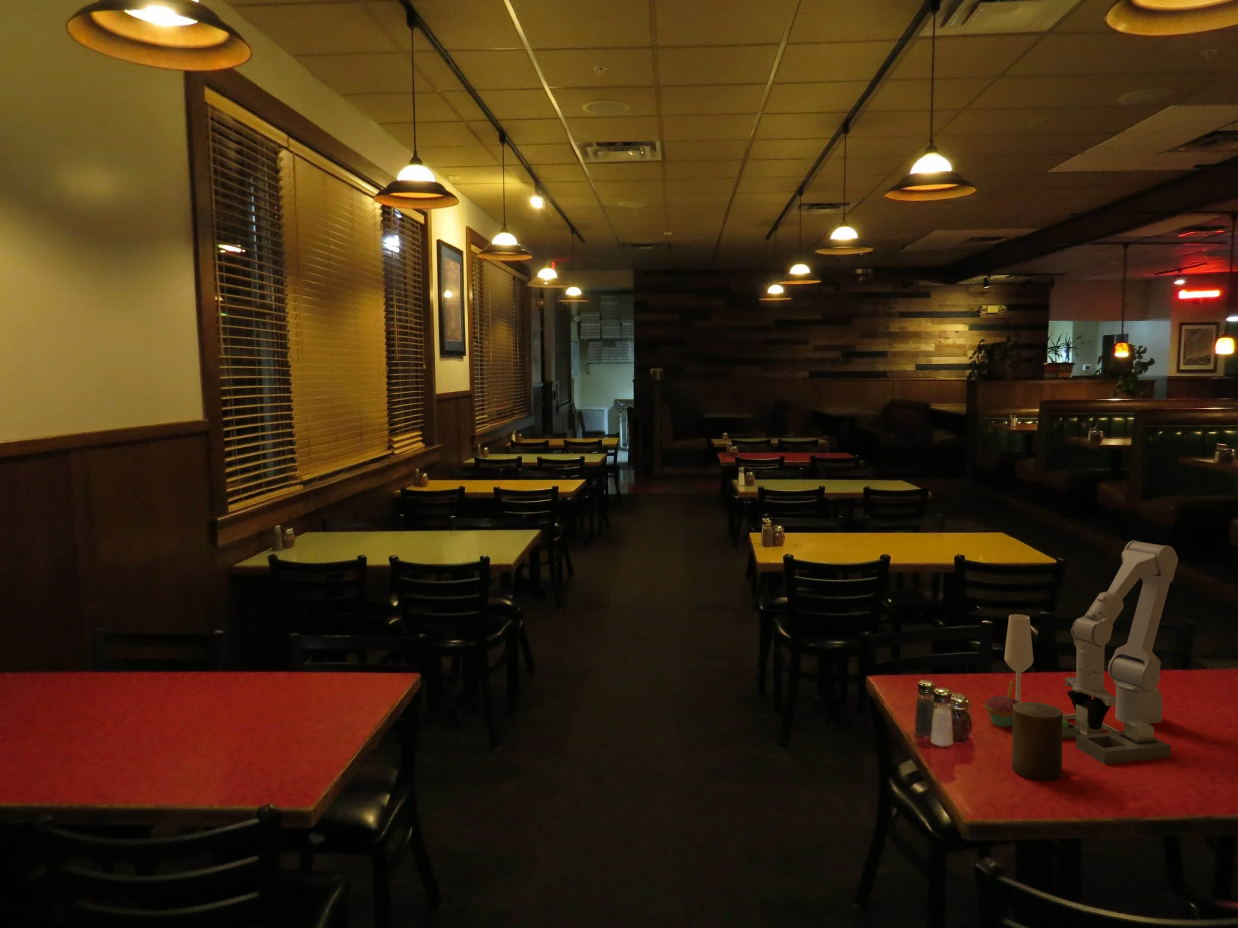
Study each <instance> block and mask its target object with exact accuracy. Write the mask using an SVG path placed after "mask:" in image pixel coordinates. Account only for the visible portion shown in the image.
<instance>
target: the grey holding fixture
mask: <svg viewBox="0 0 1238 928" xmlns="http://www.w3.org/2000/svg"><path fill="white" fill-rule="evenodd" d="M1075 748H1076V749H1078V750H1079V751H1081V752H1083V753H1085V754H1087V755H1088V756H1089V757H1092V758H1093V759H1095V760H1096V761H1098V762H1100V763H1101V764H1103V765H1109V764H1110V765H1111V764H1119V763H1128V762H1138V761H1139V762H1140V761H1149V760H1158V759H1168V758H1171V745H1170V744H1168V743H1167V742H1165V741H1163V740H1161V739H1159V738H1158V737H1155V736H1154V742H1153V743H1150V744H1140V745H1136V744H1134V743H1133V742H1131V741H1129V740H1127V739H1125V738H1124V730H1118V732H1109V731H1107V732H1103V733H1094V734H1087V735H1076V738H1075Z"/></svg>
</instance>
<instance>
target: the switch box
mask: <svg viewBox="0 0 1238 928" xmlns="http://www.w3.org/2000/svg"><path fill="white" fill-rule="evenodd" d="M1068 722H1069V721H1068ZM1075 725H1076V724H1075ZM1075 725H1074V724H1073V723H1071V722H1069V724H1068V728H1064V729H1062V740H1071V739H1072V740H1073V739H1076V735H1080V731H1081V730H1080V728H1079V727H1077V726H1075Z"/></svg>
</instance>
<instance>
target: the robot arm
mask: <svg viewBox="0 0 1238 928" xmlns="http://www.w3.org/2000/svg"><path fill="white" fill-rule="evenodd" d="M1121 561H1122V563H1121V566H1120V568H1119V569H1118V572H1117V573H1116V575H1115V577H1114V579H1113V581H1112V582H1111V584H1110V586H1109V588H1108V589H1107V591H1104V592H1100V593H1098V595H1097V597H1096V598H1095V600H1094V602H1092V604H1091V605H1090V607H1089V609H1088V610H1087V612H1086V613H1085V614H1084V616H1081V617H1079V618H1076V619H1075V621H1074V622H1073V624H1072V626H1071V627H1072V628H1070V633H1071V637H1072V638H1073V641H1074V644H1073V645H1074V647H1076V667H1075V668H1076V673H1075V677H1074V676H1068V677H1065V679H1064V680H1065V681H1064V682H1065V683H1064V684H1065V686H1067V687H1070V688H1071V690H1068V691H1067V692H1066V693H1067V696H1068V697H1069V699H1070V701H1071V703H1072V706H1073V709H1074V714H1076V704H1079V703H1086V704H1087V707H1088V710H1089V715H1090V726H1091V729H1093V730H1095V729H1101V726H1102V723H1104V719H1105V717H1106V715H1107V713H1108V711H1109V710H1110V709H1111V708H1112V706H1115V719H1116V720H1117V721H1119V722H1120V723H1123V724H1124V722H1127V721H1137V720H1141V721H1143V722H1145V723H1147V724H1149V725H1151V724H1159V723H1162V722H1163V696H1162V693H1161V692H1160V690H1159V689H1158V688H1157V686H1158V685H1159V683H1160V682H1161V672H1160V671H1161V665H1162V662H1161V661H1160V659H1159V657H1158V656H1156V654H1154V652H1153V648H1154V644H1155V640H1156V638H1157V637H1156V636H1157V633H1158V628H1159V624H1160V623H1161V622H1160V621H1161V618H1162V614H1163V609H1164V606H1165V602H1166V599H1167V597H1168V596H1167V595H1168V591H1169V588H1170V583H1172V582H1173V580H1174V577H1175V572H1176V569H1177V565H1178V562H1179V557H1178V555H1177V552H1176V550H1175V549H1174V548H1173V546H1170V545H1162V544H1161V545H1160V544H1154V543H1148V542H1142V541H1139V540H1131V541H1129V542H1127V544H1126V545H1125V547H1124V549H1123V551H1122V552H1121ZM1140 579H1141V581H1142V586H1141V590H1140V593H1139V598H1138V602H1137V604H1136V605H1137V606H1136V609H1135V613H1134V615H1133V616H1134V617H1133V620H1132V624H1131V628H1130V632H1129V635H1128V639H1127V641H1126V644H1124V645H1122V646H1120V647H1117V648H1116V649H1115V651H1114V654H1113V656H1112V657H1111V659H1110V660H1109V663H1108V665H1107V672H1108V676H1109V678H1110V679H1112V681H1113V682H1112V684H1114V685H1115V696H1113V694H1111V693H1110V692H1109V691H1108V690H1107V689H1106V688H1105V687H1104V686H1105V683H1104V682H1105V646H1106V645H1107V644H1108V643H1109V641H1110V640H1111V636H1112V631H1113V628H1114V625H1113V624H1114V623H1115V621H1116V619H1117V618H1118V616H1119V615H1120V613H1121V612H1122V610H1123V609H1124V601H1123V599H1124V598H1125V597H1126V596H1127V594H1128V593H1129V592H1130V590H1131V589H1132V588H1133V587H1134V585H1135V584H1136V583H1137V582H1138V581H1139V580H1140ZM1133 658H1134V659H1133ZM1136 659H1138V660H1136ZM1092 698H1093V699H1092Z"/></svg>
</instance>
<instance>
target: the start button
mask: <svg viewBox="0 0 1238 928" xmlns="http://www.w3.org/2000/svg"><path fill="white" fill-rule="evenodd" d="M1068 724H1069V721H1068V720H1065V719H1063V726H1062V727H1063V728H1062V729H1064V728H1068Z"/></svg>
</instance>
